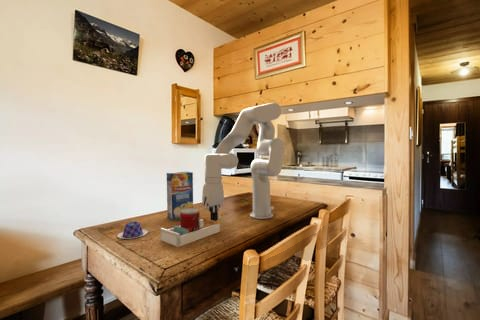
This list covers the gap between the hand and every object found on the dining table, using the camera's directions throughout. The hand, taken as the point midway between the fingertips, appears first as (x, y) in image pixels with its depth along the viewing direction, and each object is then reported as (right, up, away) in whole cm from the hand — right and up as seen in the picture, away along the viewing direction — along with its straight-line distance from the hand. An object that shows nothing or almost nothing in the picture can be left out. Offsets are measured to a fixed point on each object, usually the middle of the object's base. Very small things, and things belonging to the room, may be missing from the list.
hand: (214, 219), depth 112 cm
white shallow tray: (-9, -4, -10) cm, 14 cm away
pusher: (-12, -4, -15) cm, 20 cm away
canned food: (-9, -4, -11) cm, 15 cm away
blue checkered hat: (-34, -5, -8) cm, 35 cm away
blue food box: (-20, -3, +19) cm, 28 cm away
